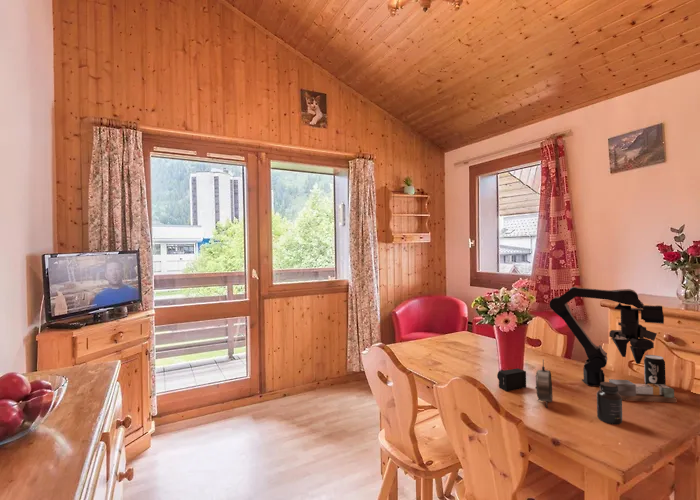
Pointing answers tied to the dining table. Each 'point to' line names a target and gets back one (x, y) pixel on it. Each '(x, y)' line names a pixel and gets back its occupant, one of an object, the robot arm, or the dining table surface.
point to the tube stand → (629, 393)
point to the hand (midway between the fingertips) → (630, 360)
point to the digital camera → (512, 379)
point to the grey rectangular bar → (650, 389)
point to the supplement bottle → (609, 404)
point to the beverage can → (654, 370)
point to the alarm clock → (544, 385)
